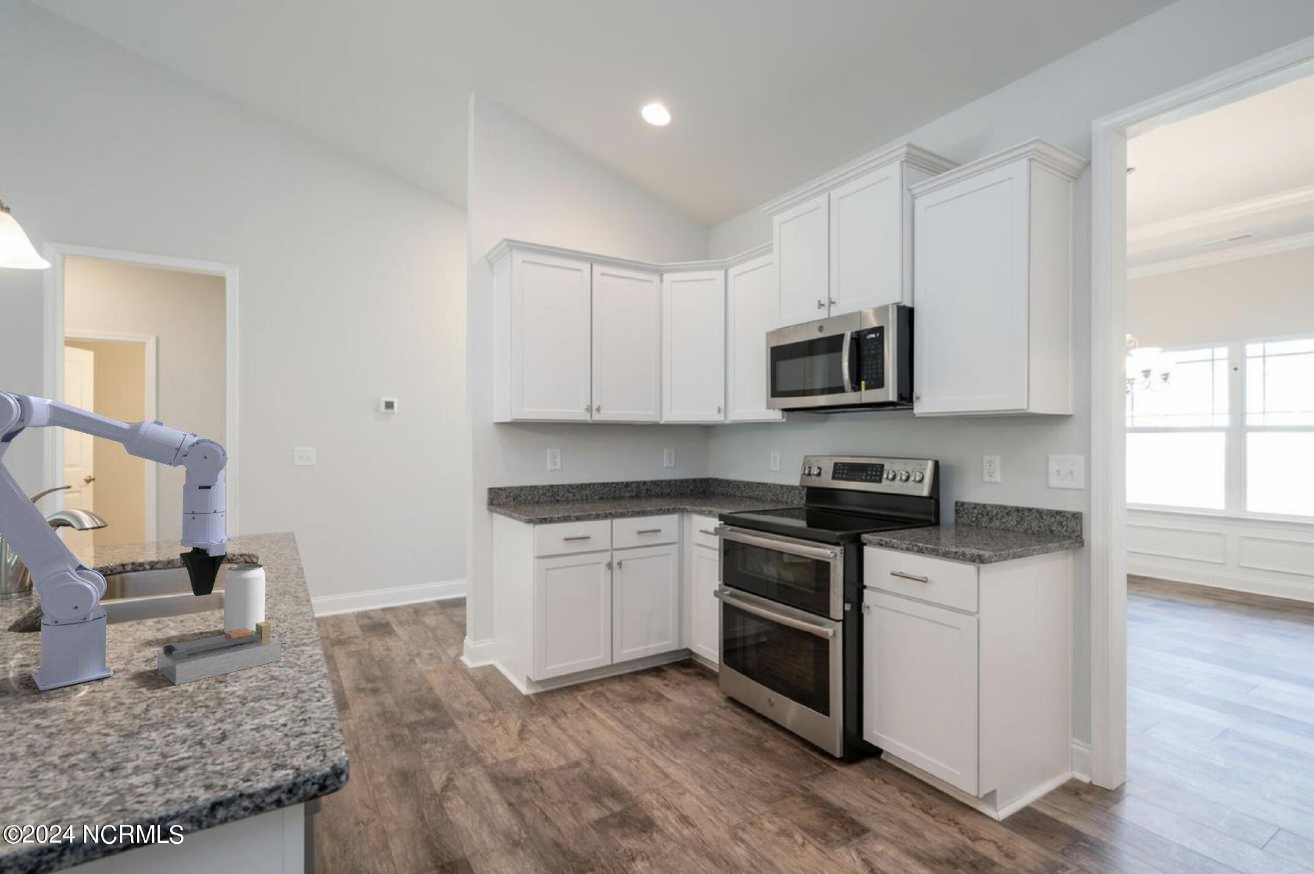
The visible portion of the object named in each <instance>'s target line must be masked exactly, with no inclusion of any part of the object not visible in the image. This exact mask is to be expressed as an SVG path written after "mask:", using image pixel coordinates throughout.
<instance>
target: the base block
mask: <svg viewBox="0 0 1314 874" xmlns="http://www.w3.org/2000/svg"><path fill="white" fill-rule="evenodd" d="M255 632H257V633H259V634H261V639H260V640H255V641H250V642H245V643H240V644H235V645H230V646H225V647H220V648H215V649H210V650H205V651H200V652H195V653H190V654H187V650H186V649H183V650H178V651H172V650H171V645H173V644H178V643H177V642H170V643H165V644H162V649H157V661H156V662H157V664H156V670H157V671H159V672H160V673H161V674H162V673H163V674H162V675H163V676H164V675H165V676H164V677H165V678H167V679H168V680H169V681H170V682H171V683H172V684H174V685H175V686H178V685H184V684H187V683H192V682H195V681H199V680H204V679H208V678H212V677H216V676H220V675H226V674H228V673H229V674H230V673H233V672H237V671H243V670H246V669H251V668H254V667H259V666H263V665H267V664H268V665H269V664H272V663H275V662H280V661H282V641H280V640H278V639H276V638H274V637H272V636H271V624H269V623H267V622H266V621H265V622H259V623H256V631H255ZM271 662H272V663H271Z"/></svg>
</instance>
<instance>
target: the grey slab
mask: <svg viewBox="0 0 1314 874" xmlns="http://www.w3.org/2000/svg"><path fill="white" fill-rule="evenodd" d="M224 633H225V634H222V635H217V636H211V637H205V638H201V639H194V640H188V641H185V642H178V643H177V644H173V645H171V650H172V651H178V650H183V649H186V650H187V654H190V653H195V652H200V651H205V650H210V649H215V648H220V647H225V646H230V645H235V644H240V643H245V642H250V641H255V640H260V639H261V634H259V633H257V632H255V631H253V630H249V629H247V628H243V629H238V630H232V631H227V632H224Z"/></svg>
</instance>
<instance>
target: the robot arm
mask: <svg viewBox="0 0 1314 874" xmlns="http://www.w3.org/2000/svg"><path fill="white" fill-rule="evenodd" d="M165 423H166V422H164V421H161V420H159V419H154V421H153V422H152V421H149V420H142V421H139V422H136V423H133V424H129V423H126V422H123V421H120V420H116V419H114V418H110V417H107V416H105V415H101V414H98V413H96V412H92V411H90V410H86V409H84V408H79V407H77V406H74V405H71V404H67V403H66V402H61V401H58V400H54V399H49V398H45V397H44V398H43V397H39V396H38V397H37V396H32V395H28V394H21V393H15V392H11V391H5V390H2V389H0V535H1V537H2V538H3V539H4V541H5V542H6V544H7V545H8V546H9V547H10V548H11V550H12V551H13V552H14V554H15V555H16V556H17V557H18V559H19V560H20V561H21V562H22V564H23V565H24V566H25V567H26V569H27V570H28V571H29V576H30V580H31V582H32V586H33V587H34V588H35V589H36V591H37V593H38V595H39V597H40V599H39V600H40V610H41V611H42V613H43V614H44V615H43V616H42V617H40V622H41V623H40V650H39V651H40V654H39V655H40V656H39V657H40V660H39V661H40V663H39V666H40V667H39V670H35V671H33V672H31V673H30V676H31V678H32V679H33V681H34V682H35V684H36V686H37V688H38V689H39V691H45V690H46V691H47V690H51V689H57V688H61V687H65V686H70V685H75V684H79V683H84V682H88V681H93V680H97V679H103V678H108V677H111V676H113V675H114V671H113V670H112V669H111V668H110V667H109V666H108V665H107V664H106V659H107V658H106V657H107V656H106V654H107V613H108V612H107V609H105V608H103V606H101V604H100V603H99V601H101V600H102V598H103V597H104V596H105V593H106V591H107V587H108V585H107V581H106V578H105V577H104V576H103V575H102V574H101V573H100V572H98V571H97V570H94V569H92V568H90V567H88V566H87V565H86V564H85V563H84V562H83V561H82V560H81V558H80V557H78V556H77V555H76V554H74V553H73V552H72V551H71V550H70V549H69V548H68V547H67V546H66V544H65V543H64V542H63V540H62V539H61V538H60V536H59V535H58V533H57V532H56V531H55V529H54V528H53V527H52V526H51V525H50V523H49V521H47V519H46V517H45V516H43V513H42V512H41V511H40V510H39V508H38V507H37V506H36V505H35V503H34V502H33V501H32V499H31V498H30V497H29V496H28V494H27V493H26V491H25V490H24V489H23V487H22V486H21V485H20V484H19V482H18V481H17V479H16V478H15V477H14V476H13V474H12V472H10V471H9V469H8V468H7V466H5V463H4V462H3V458H4V455H5V454H6V452H7V450H8V449H9V447H10V445H11V443H12V441H13V440H14V439H15V438H17V436H18V435H19V434H21V433H22V432H23V431H24V430H25V429H26V428H37V429H38V428H48V427H50V428H51V427H60V428H64V429H68V430H71V431H72V430H73V431H76V432H79V433H83V434H87V435H91V436H94V437H98V438H103V439H105V440H108V441H109V440H110V441H114V442H117V443H121V445H123V447H124V449H125V451H126V452H127V454H128V455H131V456H134V457H138V458H141V459H145V460H149V461H152V462H155V463H159V464H163V465H167V466H170V467H174V468H177V467H179V466H184V467H185V483H184V484H183V485H182V520H181V521H182V525H181V527H182V528H181V530H182V532H181V533H182V535H181V539H180V542H179V543H180V546H181V547H184V548H192V549H191V550H190V551H188V552H187V551H186V552H180V553H179V557H180V559H181V560H182V563H184V565H185V567H186V568H185V569H186V571H187V573H188V578H189V581H190V586H191V590H192V593H193V595H194V596H195V597H201V596H207V595H212V593H213V590H214V587H215V583H216V578H217V575H218V573H219V570H220V567H221V565H222V563H223V562H224V560H225V559H226V557H227V555H228V553H227V551H226V542H231V541H234V537H233V535H226V534H225V533H226V532H225V531H226V495H227V494H226V492H227V491H226V485H227V484H226V483H225V482H224V481H225V479H226V473H225V470H224V468H225V467H226V465H227V463H228V459H229V458H228V456H227V452H226V450H225V448H224V447H223V446H222V445H221V444H220V443H218V442H217V441H214V440H212V439H210V438H200V439H199V436H200V434H199V433H198V432H194V431H192V432H191V433H187V432H186V431H185V432H184V431H183V430H178V429H176V428H172V427H168V426H166V425H165Z"/></svg>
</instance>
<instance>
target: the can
mask: <svg viewBox="0 0 1314 874" xmlns="http://www.w3.org/2000/svg"><path fill="white" fill-rule="evenodd" d="M263 567H264V565H263V564H259V563H247V564H237V565H232V566H228V568H227V572H226V574H225V577H224V594H223V595H224V597H223V632H224V633H225V632H227V631H232V630H238V629H243V628H247V629H249V630H253V631H256V623H259V622H266V621H265V620H266V617H265V616H266V615H265V613H266V572H265V569H264V568H263Z"/></svg>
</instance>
